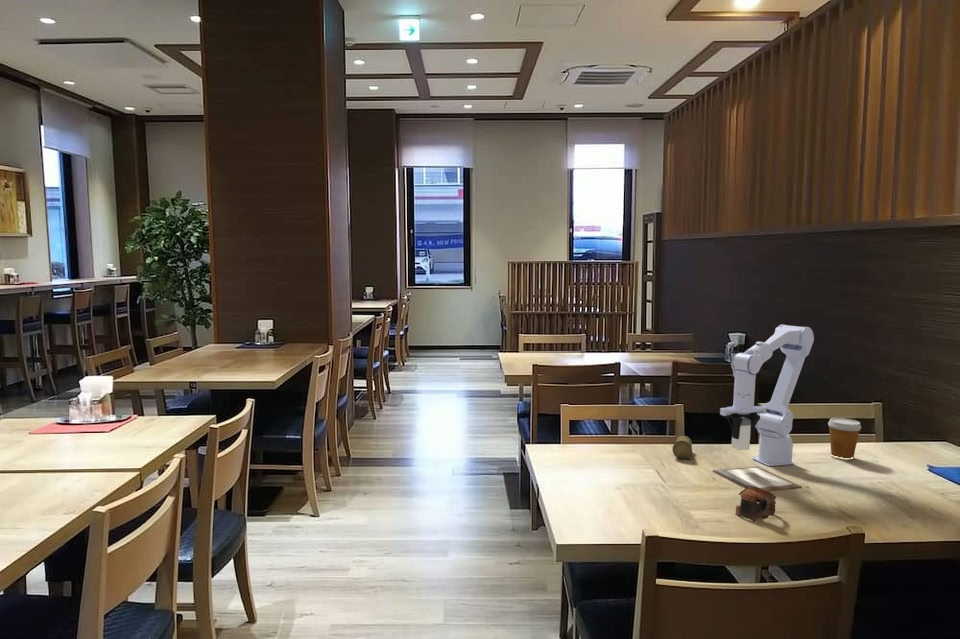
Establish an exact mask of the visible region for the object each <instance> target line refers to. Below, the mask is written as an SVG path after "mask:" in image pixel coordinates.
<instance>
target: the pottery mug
mask: <svg viewBox="0 0 960 639" xmlns="http://www.w3.org/2000/svg"><path fill="white" fill-rule="evenodd" d="M738 495H739V496H740V505H735V515H737V516H741V517H744V518H745V519H748V520H751V521H753V522H756V521H757V518H758V516H759V518H760V519H762V520H765V519H768V518H769V517H770V516H771V515H773V514H775V513H776V498H777V496H776V495H775V494H774V493H773V492H772V491H771V492H770V491H767V490H764V489H762V488H759V487H755V486H750V485H746V486H745V488H744V489H742V491H740V492H739V493H738Z"/></svg>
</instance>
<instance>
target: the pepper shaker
mask: <svg viewBox="0 0 960 639" xmlns="http://www.w3.org/2000/svg"><path fill="white" fill-rule="evenodd" d="M692 442H693V441H692V439H691V438H689V436H686V435H680V436H678V437H677V438H676V439H675V443H673V445H672V453H673V455H674V456H675V457H676V458H677V459H679V460H683V461H684V460H687V459H688V458H690V457H691V456H692V454H693V446H692V445H693V443H692Z"/></svg>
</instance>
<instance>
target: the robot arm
mask: <svg viewBox="0 0 960 639" xmlns="http://www.w3.org/2000/svg"><path fill="white" fill-rule="evenodd" d="M814 336H815V335H814V332H813V330H812V328H811V327H809V326H797V325H789V324H788V325H787V324H783V323H782V324H780V325H778V326H777V327H775V330H774V333H773V335H771V336H770V337H769V338H768V339H767V340H766V341H765V342H764V341H756V342H755V344H754V345H752V346H751V347H750V348H748V349H746V350H745V351H744V352H738V353H736V354H735V355H734V356H733V357H732V361H731V362H730V365H731V366H730V367H731V369H732V376H733V377H734V385H733V404H732V406H727V407H721V408H719V415H720V416H723V417H725V418H726V419H727V422H728V424H729V428H730V431H731V439H732V438H735V439H739V433H740V426H741V422H742V420H743V418H741V417H744V418H747V419H750V420H751V428H750V439H751V437H752V435H753V433H754V429H755V428H756V430H757V433H759V442H758V456H752V457H751V459H752V460H755V461H757V462H758V463H760V464H761V463H762V464H763V465H765V466H769V467H773V466H774V467H776V466H785V465H786V466H787V465H794V462H793V451H794V450H793V448H794V443H793V440H792V437H791V436H790V435H789V434H790V433H791V431H792V429H793V420H794V414H793V412H792V411H791V410H790V408H789V405H790V401H791V398H792V396H793V393H794V390H795V387H796V385H797V383H798V379H799V376H800V374H801V371H802V368H803V364H804V362H805V359H806V357H808V356H809V354H810V352H811V349H812V346H813V344H814V341H815V338H814ZM779 348H780V351H781V353H783V354H785V356H786V357H785V360H784V362H783V364H782V365H783V366H782V368H781V371H780V372H779V373H780V374H779V376H778V379H777V382H776V385H775V387H774V390H773V393H772V396H771V399H770V401H769V402H766V403H764V404H762V405H755V391H756V377H757V375H756V374H758V373H759V372H760V370H761V367H762V366H763V364H764V363H765V362H767V361H768V360H769V359H771V358H772V357H773V354H774V353H773V352H774V351H776V350H778V349H779ZM740 415H742V416H741V417H740Z"/></svg>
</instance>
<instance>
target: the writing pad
mask: <svg viewBox="0 0 960 639" xmlns="http://www.w3.org/2000/svg"><path fill="white" fill-rule="evenodd" d="M712 472H713V473H715V474H717V475H719V476H721V477H723V479H726V480H728V481H730V482H732V483H734V484H737V485H739V486H741V488H744V489H745V486H746V485H750V486H755V487H759V488H762V489H764V490H767V491H769V492H770V491H771V492H772V491H781V490H783V491H784V490H792V489H794V490H795V489H801V488H802V486H801V485H799V484H797V483H795V482H793V481H791V480H788V479H786V478H784V477H782V476H780V475H777V474H775V473H774V472H771V471H768V470H767V469H764V468H762V467H760V466H758V465H757V466H749V467H747V466H746V467H745V466H744V467H736V468H725V469H713V470H712Z"/></svg>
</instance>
